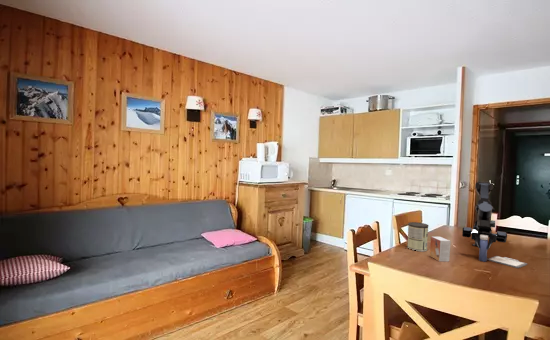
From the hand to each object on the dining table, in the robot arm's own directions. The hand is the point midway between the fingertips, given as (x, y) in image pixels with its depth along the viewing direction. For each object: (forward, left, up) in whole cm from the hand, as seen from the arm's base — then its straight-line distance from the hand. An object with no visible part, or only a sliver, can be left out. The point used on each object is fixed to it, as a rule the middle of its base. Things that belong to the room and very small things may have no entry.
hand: (483, 248), depth 150 cm
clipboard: (-10, +6, -7) cm, 14 cm away
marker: (-1, -1, -7) cm, 7 cm away
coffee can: (+11, -29, -7) cm, 31 cm away
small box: (+17, -13, -7) cm, 22 cm away
